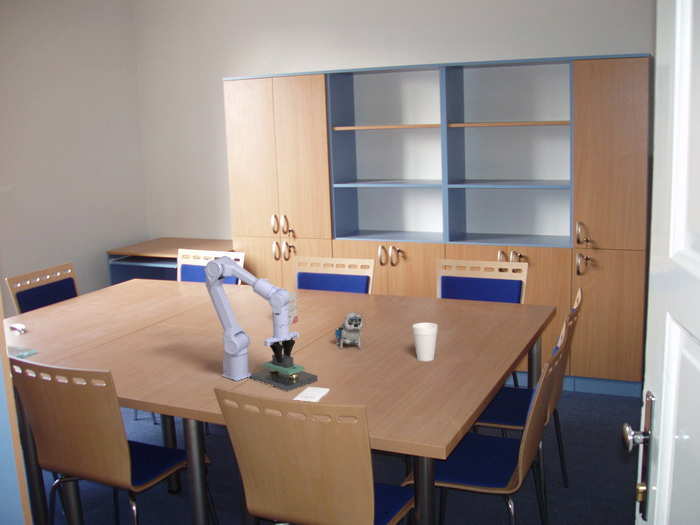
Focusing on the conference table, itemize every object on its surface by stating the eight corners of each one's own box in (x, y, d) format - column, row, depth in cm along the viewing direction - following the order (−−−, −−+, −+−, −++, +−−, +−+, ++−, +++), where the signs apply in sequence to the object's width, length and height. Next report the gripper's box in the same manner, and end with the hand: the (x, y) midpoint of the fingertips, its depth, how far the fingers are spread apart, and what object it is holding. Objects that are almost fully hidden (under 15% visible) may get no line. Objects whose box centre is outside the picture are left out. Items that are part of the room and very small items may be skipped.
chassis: (251, 379, 266) (250, 365, 266) (281, 369, 276) (280, 356, 275) (286, 391, 252) (286, 377, 252) (317, 381, 262) (316, 367, 261)
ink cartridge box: (289, 320, 349) (288, 289, 346) (298, 321, 346) (296, 290, 343) (278, 324, 342) (276, 293, 339) (286, 326, 339) (285, 294, 336)
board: (262, 366, 267) (261, 354, 266) (277, 361, 271) (276, 350, 271) (289, 375, 256) (288, 362, 255) (304, 370, 261) (303, 357, 260)
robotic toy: (340, 353, 293) (339, 317, 291) (332, 342, 310) (331, 307, 307) (372, 350, 296) (370, 314, 293) (362, 339, 313) (361, 304, 310)
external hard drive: (329, 393, 251) (315, 406, 240) (307, 391, 254) (292, 403, 243) (329, 388, 251) (314, 401, 239) (307, 386, 254) (291, 398, 242)
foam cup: (410, 361, 281) (409, 328, 278) (417, 354, 289) (416, 321, 287) (434, 363, 277) (433, 329, 275) (440, 356, 286) (440, 323, 283)
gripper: (272, 330, 253) (274, 368, 255) (304, 321, 263) (305, 358, 265) (259, 326, 258) (261, 364, 260) (291, 318, 268) (293, 354, 270)
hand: (283, 361), depth 263 cm, fingers closed on board, 3 cm apart
